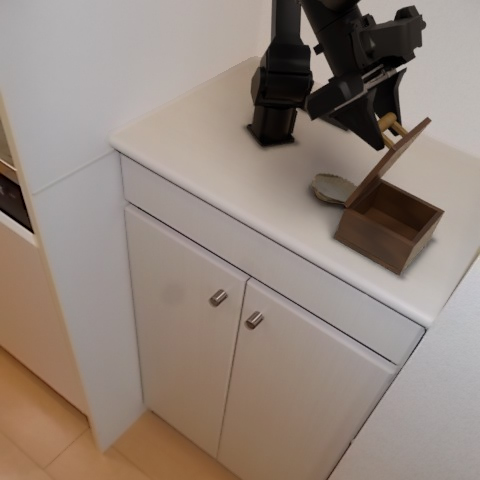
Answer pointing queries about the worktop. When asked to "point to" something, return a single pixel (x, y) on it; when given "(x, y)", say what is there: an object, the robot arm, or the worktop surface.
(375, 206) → the chest
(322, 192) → the seashell
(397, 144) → the lid
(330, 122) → the button block
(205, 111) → the worktop surface
